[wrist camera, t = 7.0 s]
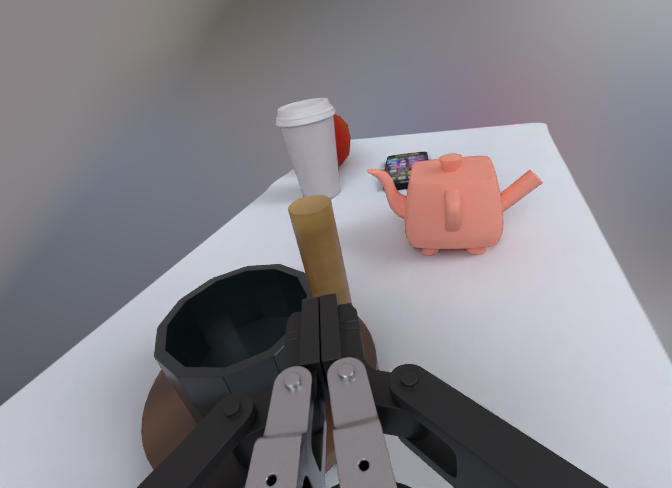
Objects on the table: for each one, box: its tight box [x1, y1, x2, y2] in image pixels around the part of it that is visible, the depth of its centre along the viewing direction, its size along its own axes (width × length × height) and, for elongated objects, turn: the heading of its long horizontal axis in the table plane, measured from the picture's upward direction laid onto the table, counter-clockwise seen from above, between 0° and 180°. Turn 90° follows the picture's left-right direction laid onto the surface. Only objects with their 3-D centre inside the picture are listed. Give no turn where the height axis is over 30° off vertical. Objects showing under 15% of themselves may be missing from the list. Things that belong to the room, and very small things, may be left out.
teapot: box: [367, 154, 543, 255], centre depth 39 cm, size 14×12×10 cm
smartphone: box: [383, 152, 429, 189], centre depth 62 cm, size 8×1×15 cm
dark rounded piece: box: [141, 195, 379, 473], centre depth 24 cm, size 18×18×15 cm
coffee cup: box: [276, 98, 340, 199], centre depth 58 cm, size 10×10×15 cm
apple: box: [333, 114, 350, 166], centre depth 71 cm, size 10×10×12 cm
